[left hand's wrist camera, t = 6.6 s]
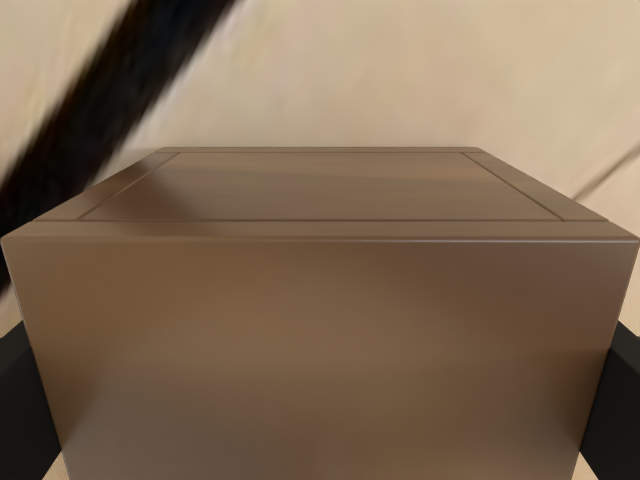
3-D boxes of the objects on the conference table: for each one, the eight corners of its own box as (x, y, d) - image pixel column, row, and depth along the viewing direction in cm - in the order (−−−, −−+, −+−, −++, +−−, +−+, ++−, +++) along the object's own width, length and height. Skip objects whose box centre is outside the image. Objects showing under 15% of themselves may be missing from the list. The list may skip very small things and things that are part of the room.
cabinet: (429, 524, 23) (486, 772, 15) (212, 523, 23) (153, 771, 15) (479, 147, 16) (644, 237, 8) (161, 147, 16) (-5, 237, 8)
